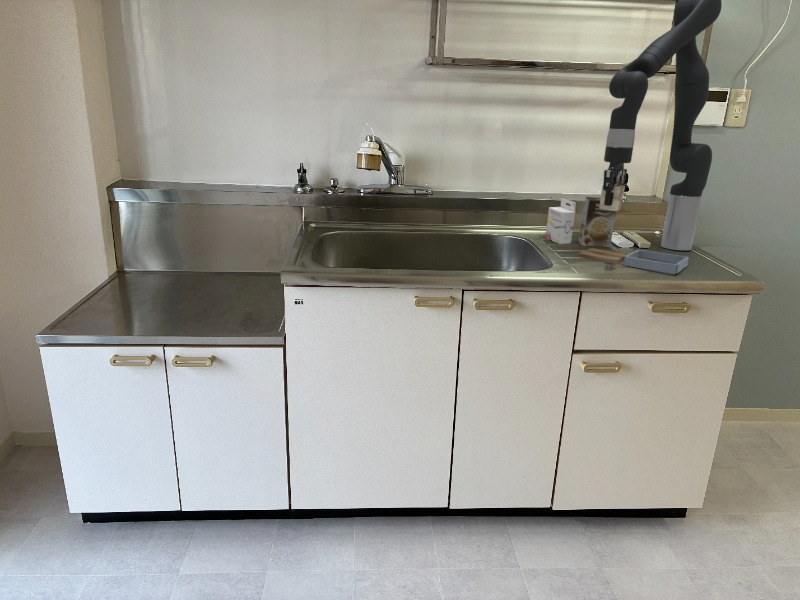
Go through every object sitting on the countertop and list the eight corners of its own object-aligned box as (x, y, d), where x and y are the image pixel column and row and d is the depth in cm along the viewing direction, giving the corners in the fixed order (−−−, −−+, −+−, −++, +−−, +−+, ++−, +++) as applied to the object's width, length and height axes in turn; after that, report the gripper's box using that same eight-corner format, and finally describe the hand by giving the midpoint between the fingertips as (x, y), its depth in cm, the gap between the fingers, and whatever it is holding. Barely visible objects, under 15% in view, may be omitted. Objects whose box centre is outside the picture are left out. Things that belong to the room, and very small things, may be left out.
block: (604, 207, 174) (608, 183, 172) (621, 209, 172) (625, 185, 169) (599, 209, 171) (602, 184, 168) (616, 211, 168) (619, 186, 166)
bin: (636, 257, 177) (638, 249, 177) (687, 265, 169) (689, 257, 168) (622, 265, 166) (623, 256, 165) (676, 274, 158) (678, 265, 157)
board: (590, 251, 183) (591, 247, 183) (629, 257, 177) (629, 253, 176) (577, 257, 174) (577, 253, 174) (616, 263, 167) (617, 259, 167)
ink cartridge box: (543, 241, 196) (549, 198, 190) (555, 240, 197) (561, 197, 192) (558, 247, 188) (565, 202, 183) (571, 246, 190) (577, 202, 185)
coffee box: (581, 248, 187) (588, 199, 181) (577, 244, 193) (584, 196, 187) (610, 250, 186) (618, 201, 181) (605, 245, 192) (613, 197, 187)
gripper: (614, 145, 173) (606, 201, 178) (598, 145, 162) (590, 205, 167) (639, 146, 169) (630, 204, 174) (625, 146, 158) (616, 208, 163)
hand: (610, 204), depth 171 cm, fingers closed on block, 5 cm apart
